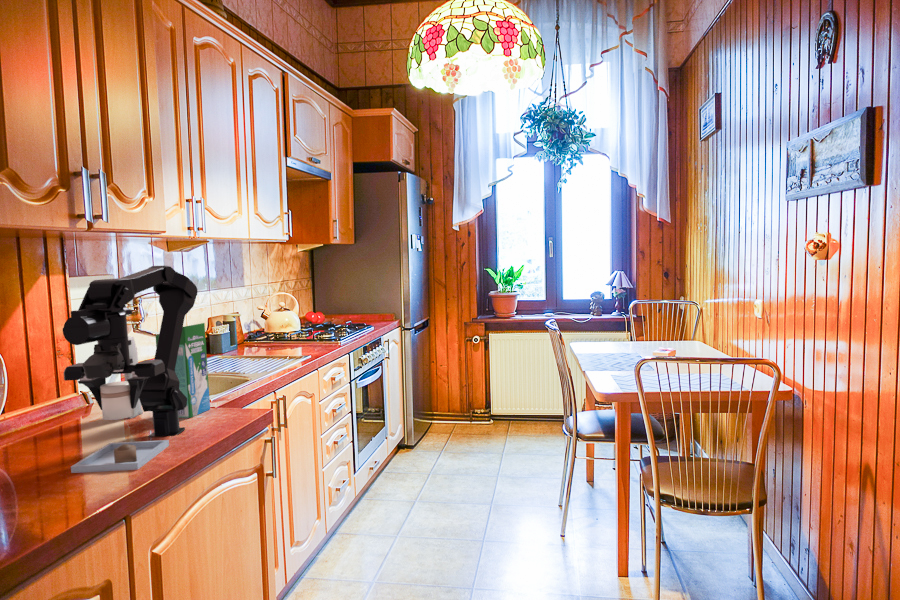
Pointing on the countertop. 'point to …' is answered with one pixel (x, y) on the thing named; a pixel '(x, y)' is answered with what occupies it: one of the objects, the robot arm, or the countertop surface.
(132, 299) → the robot arm
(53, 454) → the countertop surface
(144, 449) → the tray
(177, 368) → the milk carton
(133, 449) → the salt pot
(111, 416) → the cream lidded jar
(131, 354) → the tall pale column
